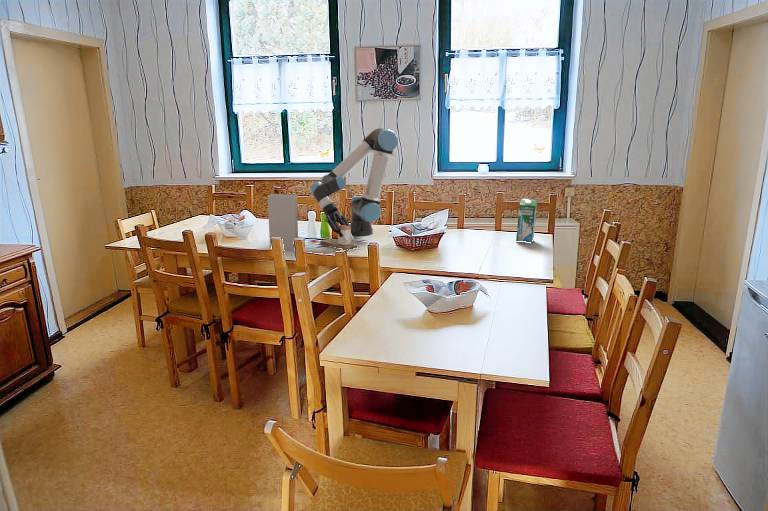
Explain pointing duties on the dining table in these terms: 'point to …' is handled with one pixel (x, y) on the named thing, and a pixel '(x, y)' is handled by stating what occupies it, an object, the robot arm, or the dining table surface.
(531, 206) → the milk carton
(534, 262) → the dining table surface
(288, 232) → the tall grey block
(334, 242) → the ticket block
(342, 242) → the stub
